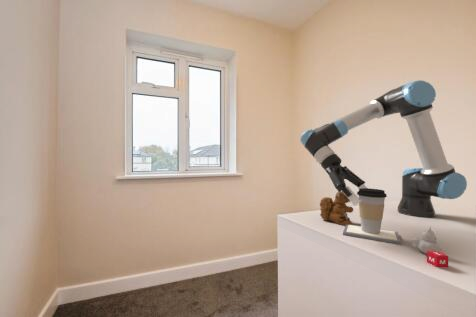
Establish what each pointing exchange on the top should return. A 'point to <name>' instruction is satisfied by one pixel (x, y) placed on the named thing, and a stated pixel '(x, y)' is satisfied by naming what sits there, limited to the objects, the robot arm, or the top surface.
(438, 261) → the dice
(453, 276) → the top surface
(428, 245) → the light grey lumpy piece
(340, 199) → the stuffed squirrel
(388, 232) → the picture frame
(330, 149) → the robot arm
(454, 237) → the top surface
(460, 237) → the top surface
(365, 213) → the coffee cup
